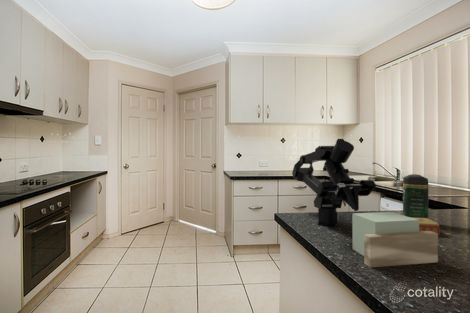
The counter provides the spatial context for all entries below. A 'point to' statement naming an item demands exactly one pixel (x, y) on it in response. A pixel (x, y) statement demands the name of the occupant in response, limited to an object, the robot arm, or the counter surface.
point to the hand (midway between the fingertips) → (356, 210)
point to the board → (400, 248)
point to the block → (379, 226)
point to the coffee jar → (415, 196)
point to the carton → (428, 225)
